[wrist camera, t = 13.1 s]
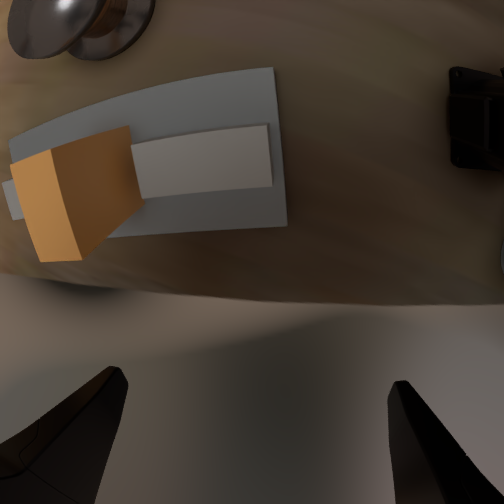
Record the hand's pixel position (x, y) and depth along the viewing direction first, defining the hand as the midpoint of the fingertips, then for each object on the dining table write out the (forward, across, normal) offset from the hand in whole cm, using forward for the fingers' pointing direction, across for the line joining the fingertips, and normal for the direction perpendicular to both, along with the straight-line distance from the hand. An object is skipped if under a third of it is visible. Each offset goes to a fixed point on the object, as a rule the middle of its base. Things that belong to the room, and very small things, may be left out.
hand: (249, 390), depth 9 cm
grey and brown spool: (+12, +10, -16) cm, 22 cm away
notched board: (+12, +9, -5) cm, 16 cm away
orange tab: (+11, +9, -5) cm, 15 cm away
